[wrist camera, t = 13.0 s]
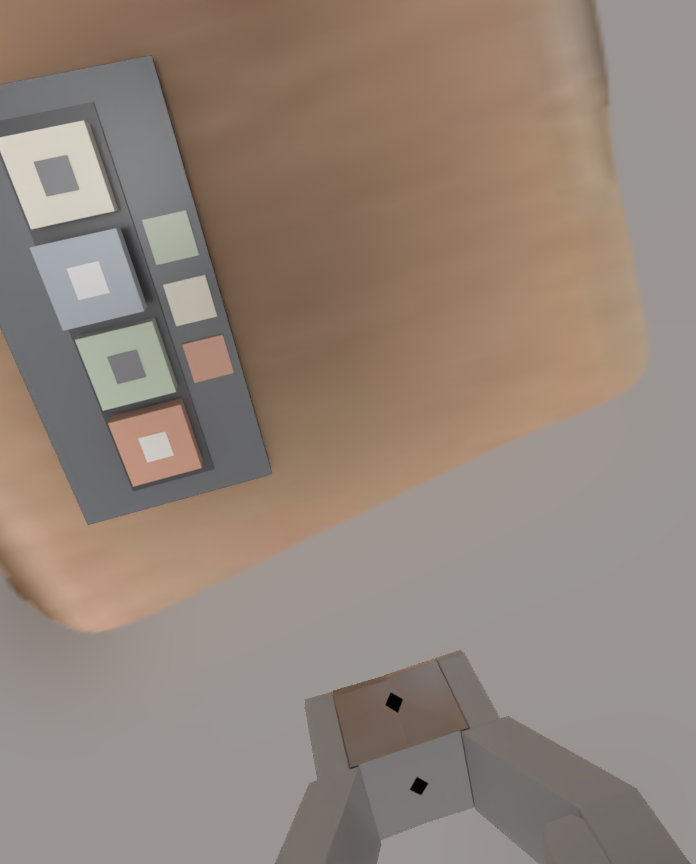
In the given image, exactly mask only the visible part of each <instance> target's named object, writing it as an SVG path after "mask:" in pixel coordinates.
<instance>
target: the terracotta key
mask: <svg viewBox="0 0 696 864" xmlns="http://www.w3.org/2000/svg"><path fill="white" fill-rule="evenodd" d="M108 425H109V427H110V430H111V432H112V435H113V437H114V440H115V443H116V445H117V448H118V450H119V453H120V455H121V458H122V460H123V463H124V465H125V468H126V470H127V473H128V475H129V478H130V480H131V483H132V485H133V487H134V486H138V485H141V484H145V483H149V482H152V481H156V480H160V479H163V478H167V477H171V476H174V475H178V474H182V473H185V472H189V471H193V470H196V469H200V468H202V456H201V453H200V450H199V447H198V444H197V441H196V438H195V435H194V432H193V429H192V427H191V424H190V421H189V418H188V415H187V412H186V409H185V406H184V403H183V400H182V398H178V399H174V400H171V401H167V402H163V403H159V404H155V405H151V406H147V407H143V408H139V409H136V410H132V411H128V412H124V413H120V414H116V415H112V417H111V419H110V421H109V423H108Z"/></svg>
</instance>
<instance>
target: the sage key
mask: <svg viewBox="0 0 696 864" xmlns="http://www.w3.org/2000/svg"><path fill="white" fill-rule="evenodd" d="M75 342H76V344H77V347H78V349H79V352H80V354H81V357H82V359H83V362H84V364H85V367H86V369H87V372H88V374H89V377H90V379H91V382H92V385H93V387H94V390H95V392H96V395H97V397H98V400H99V402H100V405H101V407H102V410H103V411H104V410H108V409H112V408H116V407H120V406H124V405H128V404H132V403H135V402H139V401H143V400H147V399H151V398H155V397H159V396H163V395H167V394H171V393H174V392H176V390H177V386H178V385H177V382H176V379H175V376H174V373H173V370H172V367H171V364H170V361H169V358H168V355H167V352H166V349H165V346H164V343H163V340H162V337H161V334H160V331H159V328H158V325H157V322H156V319H155V317H152V318H148V319H143V320H139V321H135V322H131V323H127V324H123V325H119V326H115V327H110V328H106V329H102V330H98V331H94V332H90V333H86V334H81V335H80V336H79V337H78V338H76V339H75Z"/></svg>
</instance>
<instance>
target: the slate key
mask: <svg viewBox="0 0 696 864" xmlns="http://www.w3.org/2000/svg"><path fill="white" fill-rule="evenodd" d="M30 250H31V253H32V255H33V258H34V260H35V263H36V265H37V268H38V270H39V272H40V275H41V277H42V280H43V282H44V285H45V287H46V290H47V292H48V295H49V297H50V300H51V302H52V305H53V307H54V310H55V312H56V315H57V317H58V320H59V322H60V325H61V327H62V330H63V331H64V330H69V329H73V328H77V327H81V326H85V325H89V324H94V323H98V322H102V321H106V320H110V319H114V318H119V317H123V316H127V315H131V314H135V313H139V312H143V311H145V310H146V308H147V305H146V302H145V299H144V296H143V293H142V290H141V287H140V284H139V281H138V278H137V275H136V272H135V269H134V266H133V264H132V261H131V258H130V255H129V252H128V249H127V246H126V243H125V240H124V237H123V234H122V231H121V228H120V227H119V228H114V229H110V230H105V231H101V232H96V233H92V234H87V235H83V236H79V237H74V238H70V239H65V240H61V241H56V242H52V243H47V244H43V245H38V246H34V247H30Z"/></svg>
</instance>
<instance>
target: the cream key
mask: <svg viewBox="0 0 696 864" xmlns="http://www.w3.org/2000/svg"><path fill="white" fill-rule="evenodd" d="M0 152H1V155H2V157H3V160H4V162H5V165H6V167H7V170H8V172H9V175H10V178H11V180H12V183H13V185H14V188H15V190H16V193H17V195H18V198H19V200H20V203H21V205H22V208H23V210H24V213H25V215H26V218H27V220H28V223H29V225H30V228H31V229H38V228H43V227H47V226H52V225H56V224H61V223H65V222H70V221H74V220H79V219H83V218H88V217H92V216H97V215H101V214H106V213H110V212H115V211H119V210H118V207H117V204H116V201H115V198H114V195H113V192H112V189H111V186H110V183H109V180H108V177H107V174H106V171H105V168H104V165H103V162H102V159H101V156H100V153H99V150H98V147H97V144H96V141H95V138H94V135H93V132H92V129H91V126H90V124H89V123H88V122H86V121H84V120H83V121H78V122H73V123H68V124H63V125H58V126H53V127H49V128H44V129H39V130H34V131H29V132H24V133H19V134H14V135H9V136H4V137H0Z"/></svg>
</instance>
